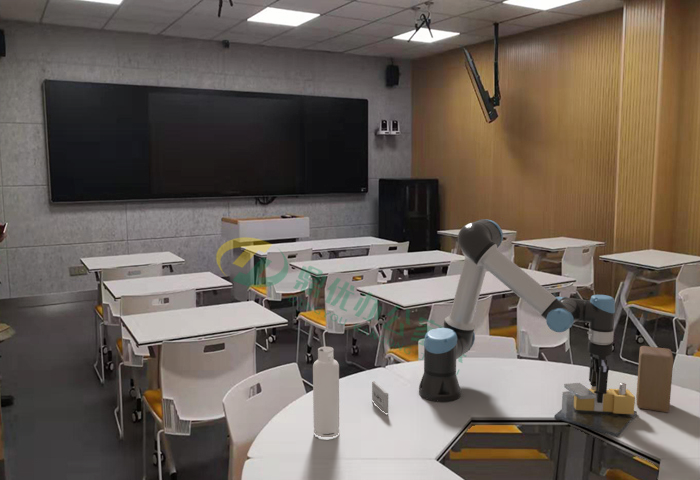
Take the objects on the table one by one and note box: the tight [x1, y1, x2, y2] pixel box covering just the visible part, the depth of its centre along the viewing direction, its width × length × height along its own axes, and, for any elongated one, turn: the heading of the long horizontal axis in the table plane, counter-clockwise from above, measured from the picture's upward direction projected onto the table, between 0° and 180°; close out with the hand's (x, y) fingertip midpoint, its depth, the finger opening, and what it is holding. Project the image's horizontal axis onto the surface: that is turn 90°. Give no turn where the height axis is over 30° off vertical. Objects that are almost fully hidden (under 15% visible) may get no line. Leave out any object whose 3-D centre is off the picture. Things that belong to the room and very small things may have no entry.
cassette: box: [371, 381, 389, 414], centre depth 203 cm, size 12×2×8 cm, turn 21°
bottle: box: [312, 346, 340, 437], centre depth 183 cm, size 8×8×28 cm
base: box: [554, 382, 638, 438], centre depth 196 cm, size 20×21×11 cm
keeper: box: [561, 382, 596, 418], centre depth 195 cm, size 8×10×10 cm
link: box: [574, 388, 636, 414], centre depth 198 cm, size 18×6×6 cm, turn 83°
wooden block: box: [635, 345, 674, 413], centre depth 204 cm, size 10×10×20 cm
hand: (596, 407), depth 199 cm, fingers closed on link, 4 cm apart
